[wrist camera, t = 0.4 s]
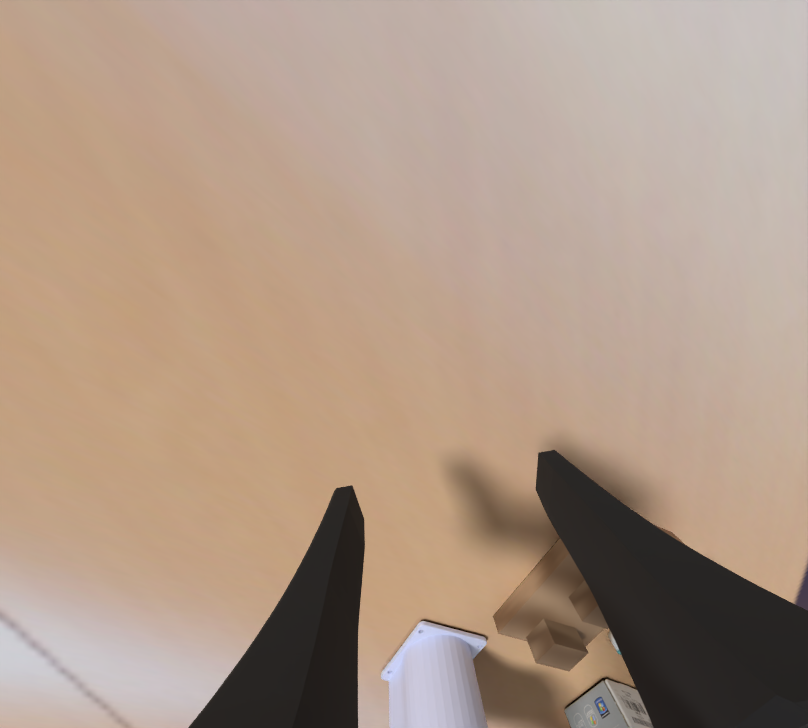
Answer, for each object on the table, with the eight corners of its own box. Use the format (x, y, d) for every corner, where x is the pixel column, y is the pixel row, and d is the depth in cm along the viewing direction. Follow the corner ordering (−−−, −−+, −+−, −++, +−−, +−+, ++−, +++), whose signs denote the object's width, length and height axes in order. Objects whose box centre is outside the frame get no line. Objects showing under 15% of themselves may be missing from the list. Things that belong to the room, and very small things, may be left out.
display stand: (568, 637, 32) (589, 680, 29) (493, 616, 30) (506, 659, 27) (672, 532, 28) (710, 568, 25) (592, 499, 26) (623, 534, 23)
